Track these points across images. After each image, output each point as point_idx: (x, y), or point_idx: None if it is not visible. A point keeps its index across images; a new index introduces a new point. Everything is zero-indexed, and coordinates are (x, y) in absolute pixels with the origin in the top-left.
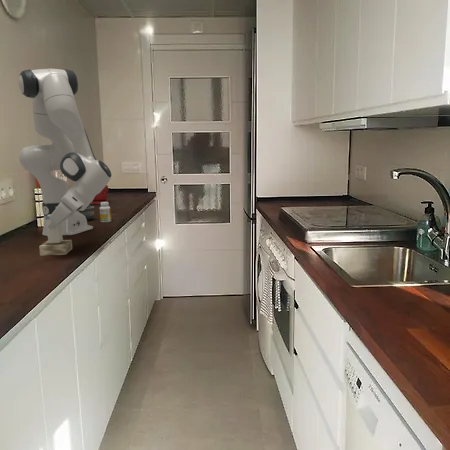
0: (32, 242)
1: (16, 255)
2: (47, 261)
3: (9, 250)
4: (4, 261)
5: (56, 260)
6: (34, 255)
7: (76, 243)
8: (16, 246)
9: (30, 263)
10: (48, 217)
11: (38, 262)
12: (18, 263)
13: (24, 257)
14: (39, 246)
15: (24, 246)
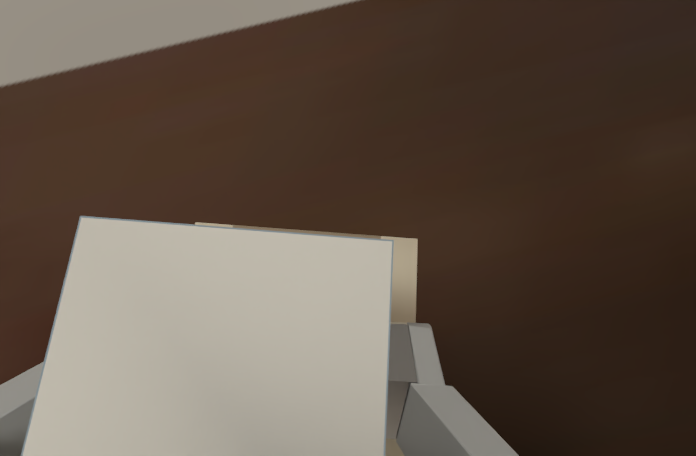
0: (654, 86)
1: (280, 81)
2: (13, 340)
3: (435, 6)
4: (137, 53)
5: None
6: (243, 197)
7: (593, 448)
8: (542, 18)
9: (6, 228)
10: (80, 298)
11: (11, 278)
12: (43, 149)
13: (204, 145)
14: (196, 224)
15: (536, 65)
